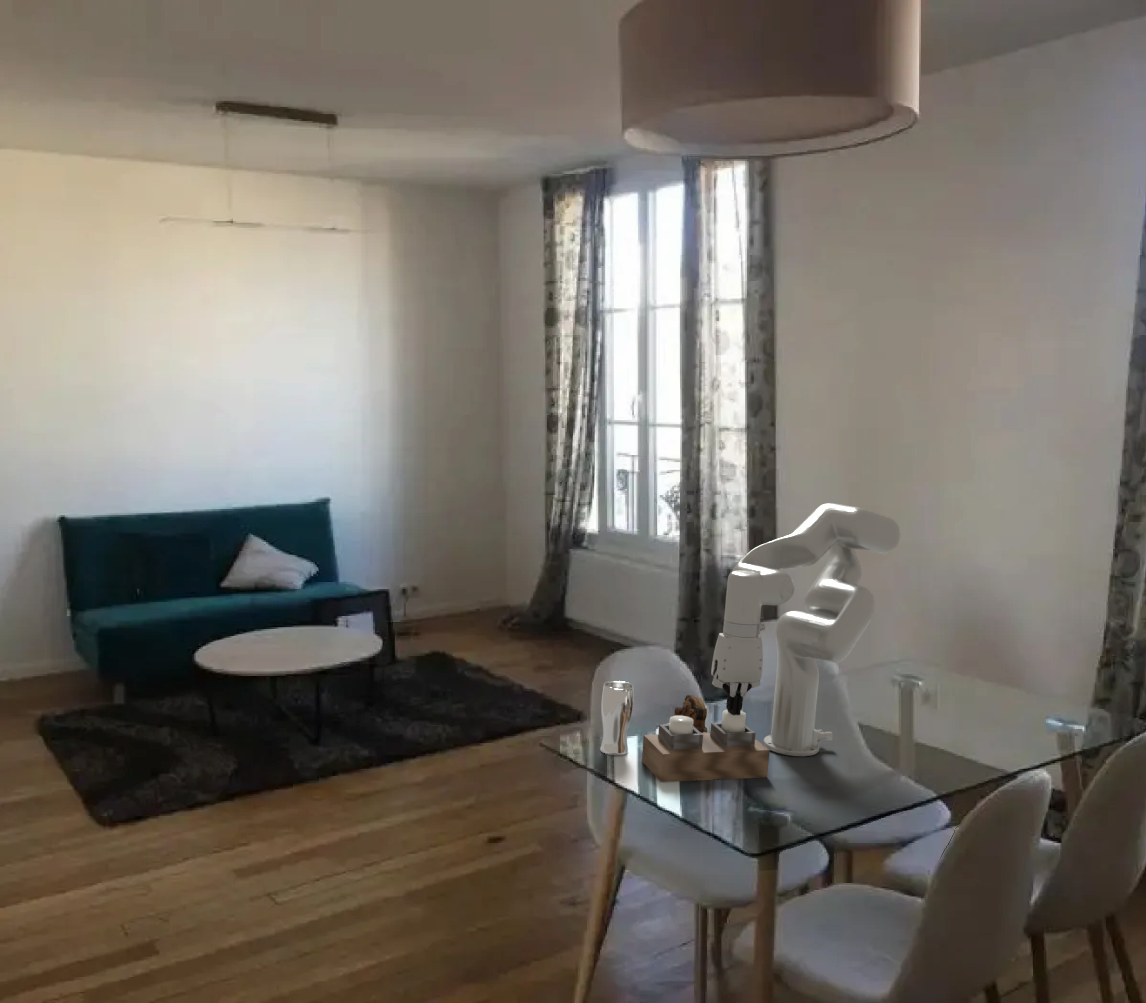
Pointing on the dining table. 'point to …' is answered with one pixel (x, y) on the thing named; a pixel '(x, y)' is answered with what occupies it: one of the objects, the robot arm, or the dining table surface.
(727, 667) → the robot arm
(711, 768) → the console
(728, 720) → the knob
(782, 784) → the dining table surface
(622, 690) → the beer glass
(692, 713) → the wooden carving
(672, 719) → the knob
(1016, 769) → the dining table surface
